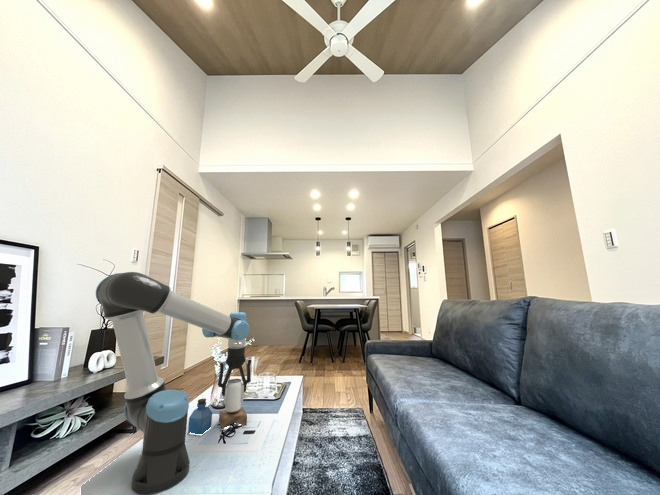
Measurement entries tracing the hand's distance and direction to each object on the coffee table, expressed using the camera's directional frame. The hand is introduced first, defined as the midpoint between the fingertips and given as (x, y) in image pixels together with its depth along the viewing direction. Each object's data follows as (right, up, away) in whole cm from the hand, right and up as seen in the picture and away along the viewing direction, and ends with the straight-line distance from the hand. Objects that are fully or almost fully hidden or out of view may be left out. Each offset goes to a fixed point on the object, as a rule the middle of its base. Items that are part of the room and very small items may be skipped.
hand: (233, 401), depth 118 cm
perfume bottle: (-11, -8, -9) cm, 16 cm away
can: (0, -4, 0) cm, 4 cm away
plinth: (0, -9, -1) cm, 9 cm away
